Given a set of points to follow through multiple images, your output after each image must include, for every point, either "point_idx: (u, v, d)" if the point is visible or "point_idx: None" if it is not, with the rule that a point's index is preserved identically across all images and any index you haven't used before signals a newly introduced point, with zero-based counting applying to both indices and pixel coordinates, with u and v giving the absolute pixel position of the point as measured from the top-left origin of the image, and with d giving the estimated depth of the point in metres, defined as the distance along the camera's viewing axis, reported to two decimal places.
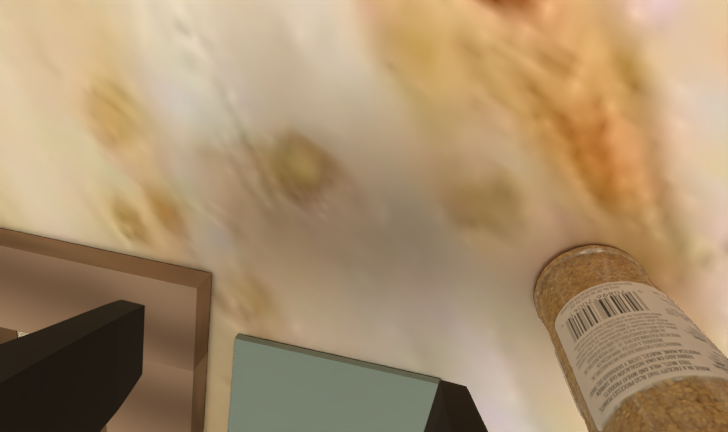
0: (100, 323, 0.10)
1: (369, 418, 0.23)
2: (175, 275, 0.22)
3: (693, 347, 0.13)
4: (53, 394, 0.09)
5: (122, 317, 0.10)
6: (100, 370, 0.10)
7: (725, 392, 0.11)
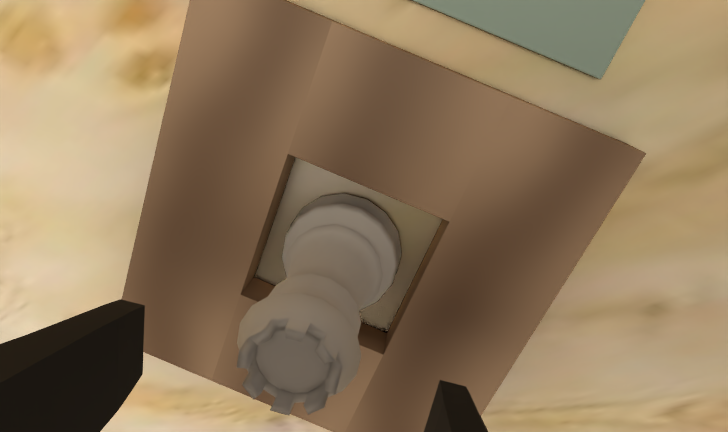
0: (100, 323, 0.10)
1: None
2: None
3: None
4: (53, 394, 0.09)
5: (122, 317, 0.10)
6: (100, 370, 0.10)
7: None
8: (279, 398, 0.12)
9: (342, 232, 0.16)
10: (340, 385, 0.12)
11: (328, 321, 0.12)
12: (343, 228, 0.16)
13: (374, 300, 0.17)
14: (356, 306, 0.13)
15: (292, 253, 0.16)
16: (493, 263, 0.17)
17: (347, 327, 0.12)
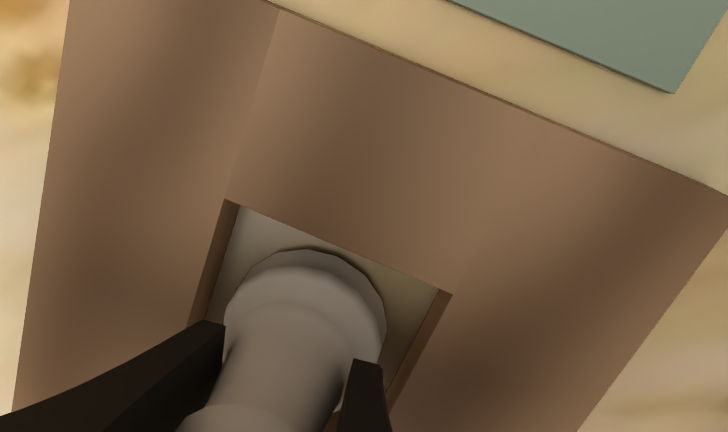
0: (192, 347, 0.10)
1: None
2: None
3: None
4: (155, 421, 0.09)
5: (210, 339, 0.10)
6: (190, 394, 0.10)
7: None
8: None
9: (299, 314, 0.11)
10: None
11: None
12: (301, 307, 0.11)
13: None
14: None
15: (230, 340, 0.11)
16: (514, 351, 0.12)
17: None
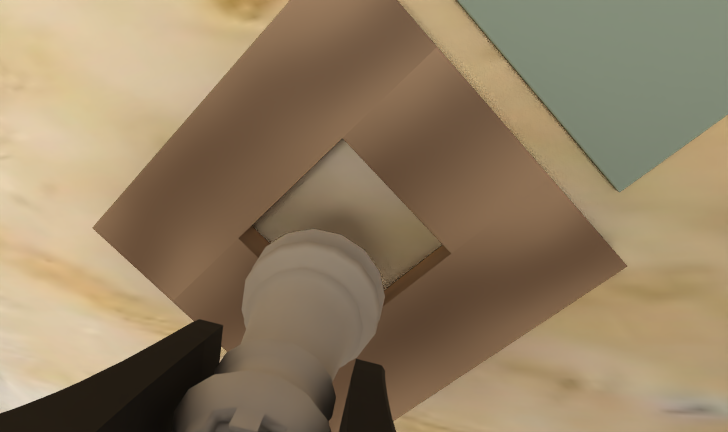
0: (189, 346, 0.10)
1: None
2: None
3: None
4: (152, 420, 0.09)
5: (207, 339, 0.10)
6: None
7: None
8: None
9: (311, 278, 0.13)
10: None
11: (289, 409, 0.09)
12: (313, 272, 0.13)
13: (354, 356, 0.14)
14: (329, 377, 0.10)
15: (252, 305, 0.13)
16: (469, 301, 0.19)
17: (315, 414, 0.09)
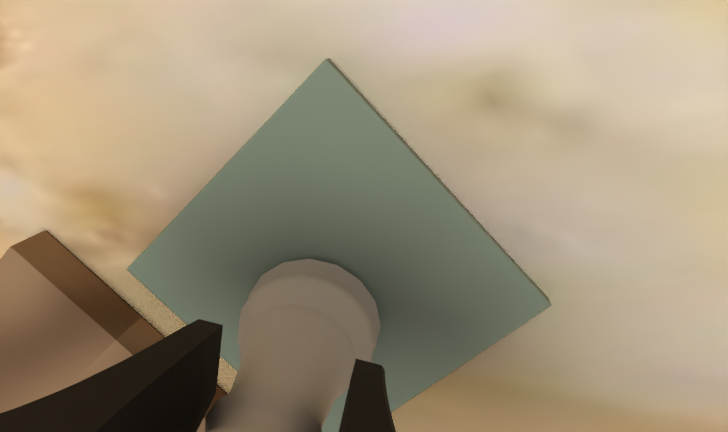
0: (189, 346, 0.10)
1: (325, 199, 0.15)
2: None
3: None
4: (151, 420, 0.09)
5: (207, 339, 0.10)
6: (187, 393, 0.10)
7: None
8: None
9: (304, 315, 0.13)
10: None
11: None
12: (306, 309, 0.13)
13: (348, 386, 0.15)
14: (318, 426, 0.10)
15: (246, 339, 0.13)
16: None
17: None
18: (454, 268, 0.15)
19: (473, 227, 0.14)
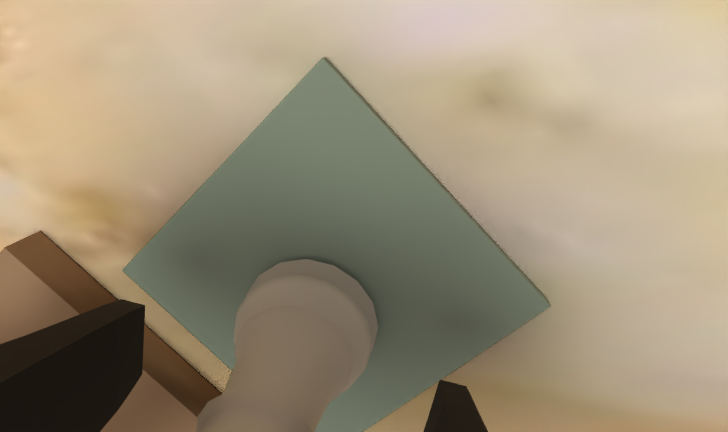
0: (100, 323, 0.10)
1: (322, 199, 0.15)
2: None
3: None
4: (53, 394, 0.09)
5: (122, 317, 0.10)
6: (100, 370, 0.10)
7: None
8: None
9: (300, 316, 0.13)
10: None
11: None
12: (301, 310, 0.13)
13: (345, 388, 0.14)
14: (309, 430, 0.10)
15: (241, 339, 0.13)
16: None
17: None
18: (453, 269, 0.15)
19: (472, 227, 0.14)
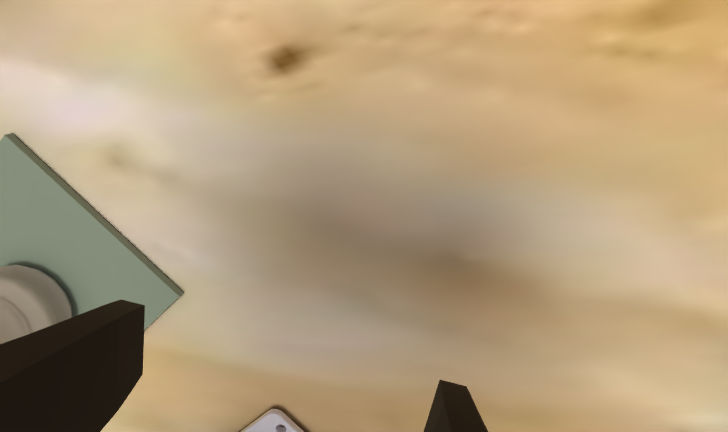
0: (100, 323, 0.10)
1: (24, 225, 0.22)
2: None
3: None
4: (53, 394, 0.09)
5: (122, 317, 0.10)
6: (100, 370, 0.10)
7: None
8: None
9: None
10: None
11: None
12: None
13: None
14: None
15: None
16: None
17: None
18: (114, 271, 0.22)
19: (118, 244, 0.21)
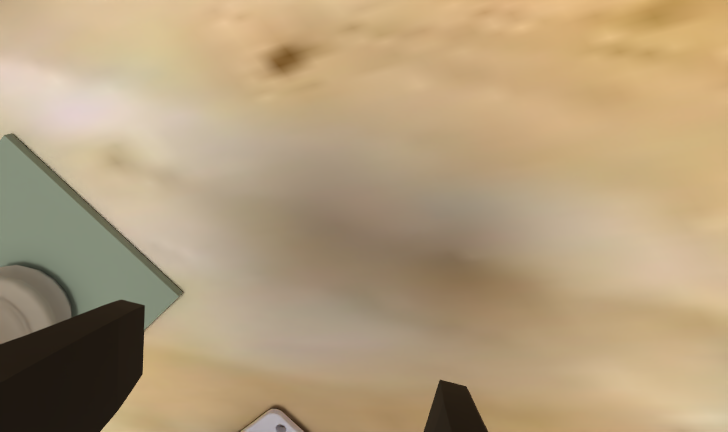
0: (100, 323, 0.10)
1: (24, 225, 0.22)
2: None
3: None
4: (53, 394, 0.09)
5: (122, 317, 0.10)
6: (100, 370, 0.10)
7: None
8: None
9: None
10: None
11: None
12: None
13: None
14: None
15: None
16: None
17: None
18: (114, 271, 0.22)
19: (117, 244, 0.21)
